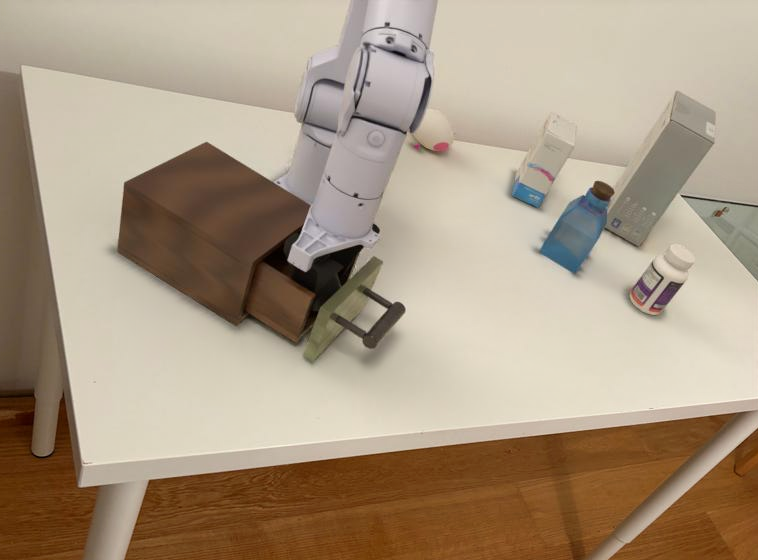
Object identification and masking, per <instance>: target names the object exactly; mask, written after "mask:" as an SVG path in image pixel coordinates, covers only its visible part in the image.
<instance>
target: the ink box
mask: <svg viewBox="0 0 758 560" xmlns="http://www.w3.org/2000/svg"><path fill="white" fill-rule="evenodd" d="M577 127H578V125H577V124H576V123H574V122H572V121H570V120H568V119H567V118H565V117H564V116H561V115H560V114H557V113H556V112H554V111H551V112H549V114H548V115H547V118H546V119H545V121H544V122H543V125H542V126H541V128H540V130H539V132H538V133H537V135H536V137H535V138H534V140H533V143H532V144H531V146H530V148H529V149H528V152H527V153H526V155H525V157H524V159H523V160H522V163H521V164H520V166H519V168H518V169H517V171H516V173H515V177H514V182H513V187H512V191H511V196H512V197H513V198H516V199H518V200H520V201H522V202H525V203H527V204H529V205H531V206H533V207H536V208H537V209H538V208H539V207H540V206H541V203H542V202H543V201H544V198H546V196H547V193H548V192H549V190H550V188H551V187H552V185H553V184H554V182H555V180H556V179H557V177H558V175H559V173H560V172H561V170H562V169H563V167H564V166H565V164H566V162H567V160H568V159H569V158H570V156H571V154H572V152H573V151H574V148H575V147H576V138H577V129H578V128H577Z"/></svg>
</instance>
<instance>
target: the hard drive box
mask: <svg viewBox="0 0 758 560" xmlns="http://www.w3.org/2000/svg"><path fill="white" fill-rule="evenodd" d="M716 119H717V111H715V110H714V109H712V108H710V107H708V106H706V105H704V104H702V103H701V102H699V101H697V100H696V99H694V98H692V97H690V96H689V95H687V94H686V93H683V92H681V91H679V90H676V91H675V92H674V94H673V95H672V96H671V98H670V99H669V101H668V103H667V104H666V106H665V108H664V109H663V111H662V112H661V113H660V115H659V117H658V118H657V119H656V121H655V122H654V125H653V126H652V127H651V129H650V131H649V132H648V133H647V135H646V136H645V137H644V139H643V141H642V143H641V144H640V145H639V147H638V149H637V150H636V152H635V153H634V155H633V156H632V158H631V160H630V162H629V163H628V164H627V166H626V167H625V169H623V170H624V171H623V172H622V173H621V174H620V177H619V178H618V179H617V181H616V183H615V185H614V186H613V187H612V188H613V190H614V192H615V194H614V195H613V196H612V197H611V198H610V199H611V202H610V203H609V205H608V206H607V207H606V209H607V224H606V226H605V228H604V229H607V230H608V231H610V232H611V233H614V234H615V235H617V236H619V237H620V238H623V239H624V240H626V241H627V242H630V243H632V244H633V245H635V246H637V247H640V246H641V245H642V243H643V242H644V241H645V239H646V238H647V237H648V235H649V234H650V233H651V231H652V230H653V228H654V227H655V225H656V224H657V223H658V221H659V220H660V219H661V217H662V216H663V215H664V214H665V212H666V210H667V209H668V208H669V206H670V205H671V204H672V202H673V201H674V199H675V198H676V197H677V195H678V194H679V193H680V191H681V190H682V188H683V187H684V186H685V184H686V183H687V181H688V180H689V178H691V176H692V175H693V173H694V172H695V170H696V169H697V168H698V167H699V165H700V163H701V162H702V161H703V159H704V158H705V157H706V155H707V154H708V153H709V152H710V150H711V148H713V146H714V145H715V141H716Z"/></svg>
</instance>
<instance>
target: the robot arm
mask: <svg viewBox="0 0 758 560" xmlns="http://www.w3.org/2000/svg"><path fill="white" fill-rule="evenodd" d="M438 2H439V0H350V1H349V4H348V7H347V11H346V15H345V18H344V22H343V26H342V29H341V33H340V36H339V39H338V43H337V44H336V45H334V46H331V47H327V48H324V49H321V50H318V51H315V52H313V53H312V54H311V56H310V57H308V58H307V62H306V66H305V68H304V69H305V70H304V71H303V73H302V76H301V79H300V82H299V87H298V91H297V95H296V100H295V104H294V111H293V117H294V118H295V120H296V122H297V123H299V124H301V126H300V129H299V134H298V137H297V141H296V144H295V148H294V150H293V154H292V157H291V158H292V159H291V161H290V165H289V170H288V171H287V173H285V174H284V175H282V176H281V177H279V178H277V179H276V180H274V181H273V182H274V183H275V184H277V185H279V186H280V187H282V188H284V189H285V190H287V191H288V192H290V193H292V194H293V195H295V196H297V197H298V198H300V199H302V200H303V201H305V202H306V203H308V204H310V205H311V207H310V209H309V212H308V215H307V217H306V220H305V223H304V226H303V229H302V231H301V234H300V235H299V234H297V233H294V234H293V235H292V236H291V237H289V238H288V239H287V240H286V242H285V245H284V253H285V255H286V257H287V261H288V262H289V266H290V271H291V279H292V280H293V281H295V282H297V283H298V284H300V285H302V286H303V287H305V288H306V289H308V290H310V291H311V292H313V293H314V294H315V298H314V301H313V303H312V305H313V304H314V303H315V301H316V300H317V298H318V297H319V295H320V293H321V291H322V290H323V288H324V286H325V285H326V283H327V282H328V280H329V279H330V278H332V277H333V276H334V275H336V274H337V275H338V278H339V280H340V279H341V278H342V276H343V275H344V274H345V273H346V271H347V270H348V268H349V267H350V265H351V264H352V262H353V261H354V259H355V258H356V256H357V255H358V254H359V255H360V253H361V251H362V250H363V249H364V248H366V249H372V248H374V247H375V245H377V244H378V243H379V240H380V232H381V230H380V227H379V226H378V225H377V224H376V223H374V221H375V218H376V215H377V212H378V210H379V207H380V205H381V203H382V201H383V197H384V194H385V191H386V189H387V186H388V184H389V182H390V178H391V176H392V174H393V171H394V168H395V166H396V164H397V161H398V159H399V156H400V153H401V151H402V148H403V146H404V143H405V140H406V138H407V136H408V130H409V133H410V134H411V135H412V134H413V135H414V133H415V132H416V131H417V129H418V128H419V126H420V124H421V122H422V120H423V118H424V115H425V113H426V110H427V108H429V103H430V102H431V101H430V100H431V96H432V91H433V86H434V82H435V81H434V80H435V66H434V57H435V55H434V52H433V51H431V50H430V48H431V41H432V35H433V31H434V25H435V19H436V13H437V8H438Z"/></svg>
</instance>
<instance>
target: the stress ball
mask: <svg viewBox="0 0 758 560" xmlns="http://www.w3.org/2000/svg"><path fill="white" fill-rule="evenodd" d="M455 134H456V132H455V129H454V126H453V124H452V122H451V121H450V119H449V118H448V117H447V116H446V114H444V113H442V112H441V111H439V110H437V109H435V108H430V107H427V110H426V113H425V115H424V118H423V120H422V122H421V124H420V126H419V128H418V129H417V131H416V132H415V133H413V135H414V138H415V139H416V140H417V142H419V143H417V144H414V145H413V147H414V148H415V149H416V150H417V151H419V145H422V146H423V147H424V148H426V149H428V150H429V151H430V150H431V151H434V152H444V151H446V150H448V149H449V148H451V147H452V145H453V143H454V142H455Z"/></svg>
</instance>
